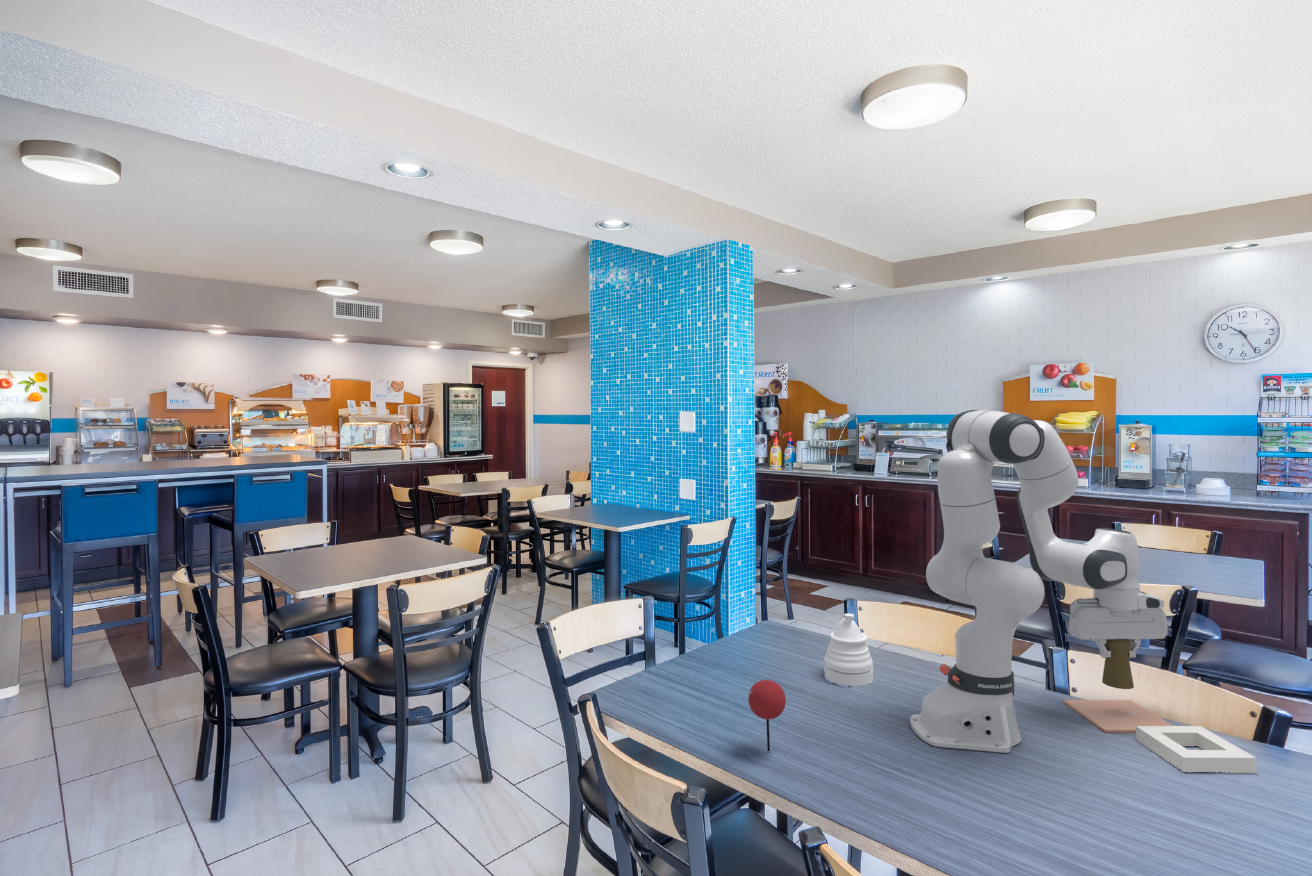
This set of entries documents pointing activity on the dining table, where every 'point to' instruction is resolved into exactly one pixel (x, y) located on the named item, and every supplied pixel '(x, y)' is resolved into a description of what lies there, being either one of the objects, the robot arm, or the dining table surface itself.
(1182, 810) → the dining table surface
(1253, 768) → the frame
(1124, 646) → the olive pawn
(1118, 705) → the terracotta tile
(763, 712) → the lollipop
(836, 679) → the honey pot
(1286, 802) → the dining table surface
